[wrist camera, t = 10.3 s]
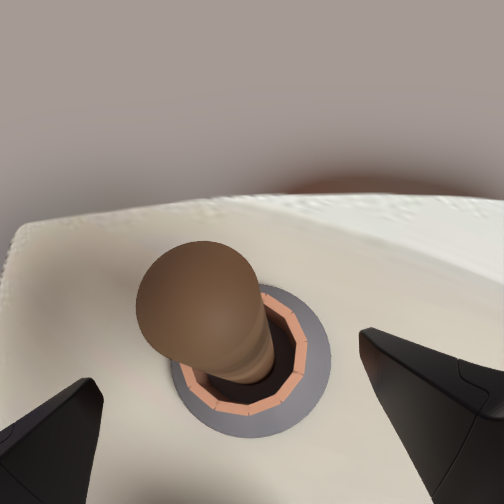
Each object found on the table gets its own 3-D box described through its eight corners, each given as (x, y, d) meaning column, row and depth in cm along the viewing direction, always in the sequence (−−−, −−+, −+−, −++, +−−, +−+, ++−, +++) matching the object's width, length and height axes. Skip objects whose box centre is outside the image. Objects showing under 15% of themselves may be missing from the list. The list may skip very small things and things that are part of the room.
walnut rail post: (276, 385, 18) (260, 364, 7) (222, 385, 18) (129, 358, 7) (275, 333, 20) (259, 237, 9) (223, 334, 20) (145, 244, 9)
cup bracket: (263, 465, 16) (258, 482, 12) (148, 369, 20) (118, 360, 16) (358, 342, 19) (375, 326, 16) (238, 263, 23) (228, 233, 20)
